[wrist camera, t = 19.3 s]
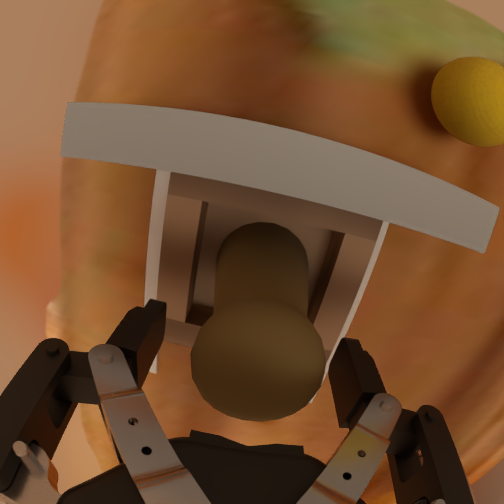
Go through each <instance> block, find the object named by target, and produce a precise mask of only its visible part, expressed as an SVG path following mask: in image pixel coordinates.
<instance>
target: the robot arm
mask: <svg viewBox="0 0 504 504" xmlns="http://www.w3.org/2000/svg"><path fill="white" fill-rule="evenodd" d="M166 310H167V303H166V302H162V301H158V300H155V299H149V301H148V302H147V304H146V305H145V307H144V308H142V307H138V306H137V307H135V308H133V309H131V310H130V311H128V312H127V314H126V315H125V317H124V319H122V321H121V322H120V324H119V325H118V326H117V328H116V329H115V331H114V332H113V333H112V335H111V336H110V338H109V339H108V341H107V342H106V344H100V345H97V346H95V347H93V348H92V349H91V350H90V351H89V352H76V351H69V347H68V345H67V343H66V342H64V341H63V340H61V339H57V338H49V339H46V340H44V341H42V342H41V343H39V345H38V346H37V347H36V348H35V350H34V351H33V352H32V354H31V355H30V356H29V357H28V359H27V360H26V361H25V363H24V364H23V365H22V366H21V368H20V369H19V370H18V372H17V373H16V375H15V376H14V377H13V379H12V380H11V381H10V383H9V384H8V386H7V387H6V389H5V390H4V391H3V393H2V394H1V396H0V500H1V501H3V502H5V503H6V504H366V503H365V502H364V501H363V500H362V499H361V498H360V496H361V494H362V493H363V491H364V490H365V488H366V486H367V485H368V483H369V481H370V480H371V478H372V476H373V474H374V473H375V471H376V469H377V467H378V465H379V463H380V462H381V460H382V458H383V456H384V454H385V453H387V456H388V461H389V466H390V471H391V476H392V481H393V486H394V492H395V497H396V503H397V504H477V503H476V501H475V498H474V495H473V492H472V489H471V487H470V484H469V481H468V479H467V476H466V473H465V471H464V468H463V466H462V463H461V461H460V459H459V456H458V453H457V450H456V448H455V445H454V443H453V440H452V437H451V435H450V432H449V430H448V427H447V425H446V423H445V420H444V418H443V416H442V414H441V412H440V411H439V410H438V409H436V408H435V407H433V406H430V405H423V406H421V407H420V408H419V409H418V411H417V412H413V411H410V410H406V409H402V406H401V404H400V402H399V401H398V400H397V399H396V398H395V397H394V396H392V395H390V394H387V392H386V390H385V387H384V385H383V382H382V380H381V377H380V375H379V374H378V370H377V368H376V365H375V362H374V360H373V358H372V357H371V356H370V355H369V353H368V352H367V351H363V349H362V347H361V344H360V342H359V340H358V339H352V338H344V337H343V338H341V340H340V342H339V344H338V346H337V348H336V351H335V353H334V355H333V357H332V359H331V361H330V364H329V369H328V375H329V379H330V384H331V389H332V394H333V398H334V403H335V408H336V413H337V418H338V423H339V428H349V431H350V432H349V433H348V434H347V436H346V437H345V438H344V440H343V441H342V443H341V444H340V445H339V447H338V448H337V449H336V451H335V452H334V453H333V455H332V456H331V457H330V459H329V460H328V461H327V462H326V464H324V463H323V462H321V461H320V460H318V459H316V458H314V457H312V456H309V455H307V454H304V450H303V446H297V445H285V444H269V445H258V446H246V445H243V444H240V443H237V442H235V441H232V440H229V439H227V438H224V437H222V436H219V435H214V434H209V433H204V432H199V431H195V430H191V432H190V437H177V438H172V439H167V437H166V435H165V433H164V432H163V430H162V428H161V426H160V424H159V422H158V420H157V418H156V416H155V414H154V412H153V410H152V408H151V406H150V404H149V402H148V400H147V398H146V396H145V394H144V392H143V390H142V389H141V388H142V386H143V383H144V381H145V379H146V377H147V374H148V372H149V370H150V368H151V366H152V364H153V361H154V359H155V357H156V355H157V353H158V351H159V349H160V346H161V344H162V342H163V339H164V335H165V325H166ZM78 403H87V404H97V405H98V406H99V409H100V412H101V415H102V418H103V421H104V424H105V427H106V430H107V433H108V435H109V438H110V441H111V444H112V447H113V449H114V452H115V455H116V457H117V460H118V462H119V465H117V466H116V467H114V468H112V469H110V470H108V471H106V472H104V473H102V474H100V475H98V476H96V477H94V478H92V479H90V480H88V481H85V482H83V483H81V484H79V485H77V486H75V487H72V488H70V489H69V490H67V491H66V492H64V493H63V494H62V495H60V494H59V492H58V489H57V483H58V472H57V470H56V468H55V466H54V465H53V463H52V462H51V460H52V457H53V455H54V452H55V451H56V448H57V446H58V444H59V442H60V440H61V438H62V435H63V433H64V431H65V429H66V427H67V425H68V423H69V421H70V418H71V417H72V415H73V412H74V410H75V408H76V406H77V404H78ZM419 450H421V454H422V456H421V457H420V458H419V454H418V451H419Z"/></svg>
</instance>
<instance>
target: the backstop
mask: <svg viewBox="0 0 504 504" xmlns="http://www.w3.org/2000/svg"><path fill="white" fill-rule="evenodd" d="M60 156H63V157H72V158H81V159H89V160H97V161H104V162H112V163H119V164H126V165H133V166H139V167H146V168H152V169H157V171H156V178H155V185H154V192H153V200H152V209H151V218H150V227H149V238H148V250H147V263H146V279H145V300H144V307H145V305H146V304H147V302H148V301H149V299H155V300H157V286H158V273H159V262H160V251H161V242H162V232H163V224H164V216H165V208H166V200H167V193H168V186H169V180H170V173H171V172H176V173H181V174H187V175H192V176H198V177H203V178H208V179H213V180H218V181H223V182H228V183H233V184H238V185H243V186H248V187H252V188H257V189H261V190H266V191H270V192H275V193H279V194H283V195H287V196H292V197H296V198H300V199H304V200H308V201H312V202H316V203H320V204H324V205H328V206H332V207H335V208H339V209H343V210H347V211H350V212H354V213H358V214H361V215H365V216H368V217H372V218H375V219H379V220H382V221H383V224H382V227H381V230H380V233H379V236H378V239H377V241H376V244H375V247H374V250H373V253H372V256H371V259H370V261H369V264H368V267H367V269H366V272H365V275H364V277H363V280H362V283H361V285H360V288H359V290H358V293H357V295H356V298H355V300H354V303H353V305H352V307H351V310H350V312H349V315H348V317H347V319H346V322H345V324H344V326H343V328H342V331H341V333H340V335H339V337H338V340H337V342H336V344H335V346H334V348H333V351H332V353H331V355H330V357H329V359H328V361H327V363H326V367H325V374H324V377H323V380H324V378H325V376H326V375H327V373H328V369H329V364H330V361H331V359H332V357H333V355H334V353H335V351H336V348H337V346H338V344H339V342H340V340H341V338H343V337H345V335H346V333H347V331H348V329H349V326H350V324H351V322H352V320H353V317H354V315H355V313H356V310H357V308H358V306H359V303H360V301H361V298H362V296H363V293H364V291H365V289H366V286H367V283H368V281H369V278H370V276H371V273H372V271H373V268H374V265H375V263H376V260H377V257H378V254H379V252H380V249H381V246H382V243H383V240H384V237H385V234H386V231H387V228H388V225H389V223H393V224H396V225H399V226H402V227H406V228H409V229H412V230H415V231H419V232H422V233H425V234H428V235H431V236H434V237H437V238H440V239H443V240H446V241H449V242H452V243H455V244H458V245H461V246H464V247H467V248H470V249H472V250H475V251H478V252H481V253H483V254H484V253H485V251H486V248H487V245H488V243H489V240H490V237H491V234H492V231H493V228H494V225H495V222H496V219H497V216H498V213H499V209H500V208H499V207H497V206H495V205H494V204H492V203H490V202H488V201H486V200H484V199H482V198H480V197H478V196H476V195H474V194H472V193H470V192H467V191H465V190H463V189H461V188H459V187H457V186H455V185H452V184H450V183H448V182H446V181H443V180H441V179H439V178H436V177H434V176H432V175H429V174H427V173H424V172H422V171H419V170H417V169H414V168H412V167H409V166H407V165H404V164H401V163H399V162H396V161H393V160H390V159H388V158H385V157H382V156H379V155H376V154H373V153H370V152H367V151H364V150H361V149H358V148H355V147H352V146H349V145H345V144H342V143H339V142H335V141H332V140H329V139H325V138H321V137H318V136H314V135H310V134H307V133H303V132H299V131H295V130H291V129H287V128H282V127H278V126H274V125H269V124H265V123H260V122H255V121H250V120H245V119H240V118H234V117H229V116H223V115H217V114H211V113H204V112H198V111H190V110H183V109H175V108H166V107H156V106H145V105H132V104H116V103H87V102H68V103H67V109H66V115H65V122H64V129H63V136H62V145H61V155H60ZM157 371H158V353H157V355H156V357H155V359H154V361H153V364H152V366H151V368H150V370H149V372H152V373H155V374H156V373H157ZM323 380H322V382H323ZM321 384H322V383H321ZM317 392H318V391H317ZM316 394H317V393H316ZM316 394H315V396H316ZM315 396H314V397H315ZM314 397H313V398H312V399H311V400H310V402H309V403H312V401H313V399H314Z"/></svg>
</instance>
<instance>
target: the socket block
mask: <svg viewBox="0 0 504 504" xmlns="http://www.w3.org/2000/svg"><path fill="white" fill-rule="evenodd" d="M255 222H268V223H275V224H277V225H280V226H282V227H285V228H287V229H289V230H290V231H291V232H292V233H293V234H295V235H296V236H297V237H298V238H299V239H300V241H301V243H302V244H303V246H304V248H305V250H306V254H307V259H308V311H307V318H308V319H309V320H310V322H311V323H312V324H313V326H314V327H315V329H316V331H317V332H318V334H319V335H320V337H321V339H322V343H323V347H324V352H325V359H326V363H327V361H328V359H329V357H330V355H331V353H332V351H333V348H334V346H335V344H336V342H337V340H338V337H339V335H340V333H341V331H342V328H343V326H344V324H345V322H346V319H347V317H348V315H349V312H350V310H351V307H352V305H353V303H354V300H355V298H356V295H357V293H358V290H359V288H360V285H361V283H362V280H363V277H364V275H365V272H366V269H367V267H368V264H369V261H370V259H371V256H372V253H373V250H374V247H375V244H376V241H377V239H378V236H379V233H380V230H381V227H382V224H383V221H382V220H379V219H375V218H372V217H368V216H365V215H361V214H358V213H354V212H350V211H347V210H343V209H339V208H335V207H332V206H328V205H324V204H320V203H316V202H312V201H308V200H304V199H300V198H296V197H292V196H287V195H283V194H279V193H275V192H270V191H266V190H261V189H257V188H252V187H248V186H243V185H238V184H233V183H228V182H223V181H218V180H213V179H208V178H203V177H198V176H192V175H187V174H181V173H176V172H171V173H170V180H169V186H168V193H167V200H166V208H165V216H164V224H163V232H162V242H161V251H160V262H159V273H158V286H157V300H158V301H162V302H166V303H167V310H166V325H165V335H164V339H163V340H164V341H167V342H171V343H175V344H179V345H183V346H187V347H191V348H193V345H194V343H195V340H196V337H197V335H198V332H199V329H200V328H201V327H202V326H203V325H204V324H205V323H206V321H207V320H208V319H209V318H210V317H211V316H212V315H213V312H214V293H215V277H216V261H217V254H218V252H219V249H220V247H221V244H222V243H223V241H224V240H225V239H226V238H227V237H228V235H229V234H230V233H231V232H233V231H235V230H236V229H238V228H240V227H241V226H243V225H246V224H250V223H255Z"/></svg>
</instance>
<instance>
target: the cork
mask: <svg viewBox="0 0 504 504" xmlns="http://www.w3.org/2000/svg"><path fill="white" fill-rule="evenodd" d="M307 311H308V259H307V254H306V250H305V248H304V246H303V244H302V243H301V241H300V239H299V238H298V237H297V236H296V235H295V234H293V233H292V232H291V231H290V230H289V229H287V228H285V227H282V226H280V225H277V224H275V223H268V222H255V223H250V224H246V225H243V226H241V227H240V228H238V229H236V230H235V231H233V232H231V233H230V234H229V235H228V237H227V238H226V239H225V240H224V241H223V243H222V244H221V247H220V249H219V252H218V254H217V261H216V277H215V293H214V312H213V315H212V316H211V317H210V318H209V319H208V320H207V321H206V323H205V324H204V325H203V326H202V327H201V328H200V329H199V332H198V335H197V337H196V340H195V343H194V345H193V348H192V351H191V369H192V378H193V380H194V382H195V384H196V386H197V388H198V390H199V392H200V393H201V395H202V397H203V399H204V400H206V401H207V402H208V403H209V404H210V405H211V406H212V407H213V408H214V409H216V410H218V411H220V412H222V413H224V414H226V415H227V416H230V417H234V418H238V419H241V420H247V421H269V420H277V419H281V418H284V417H286V416H289V415H292V414H294V413H296V412H297V411H299V410H300V409H302V408H303V407H305V406H306V405H307V404H308V403H309V402H310V400H311V399H312V398H313V397H314V396H315V394H316V393H317V391H318V390H319V388H320V387H321V383H322V380H323V377H324V374H325V367H326V359H325V352H324V347H323V343H322V339H321V337H320V335H319V334H318V332H317V331H316V329H315V327H314V326H313V324H312V323H311V322H310V320H309V319H308V318H307Z"/></svg>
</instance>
